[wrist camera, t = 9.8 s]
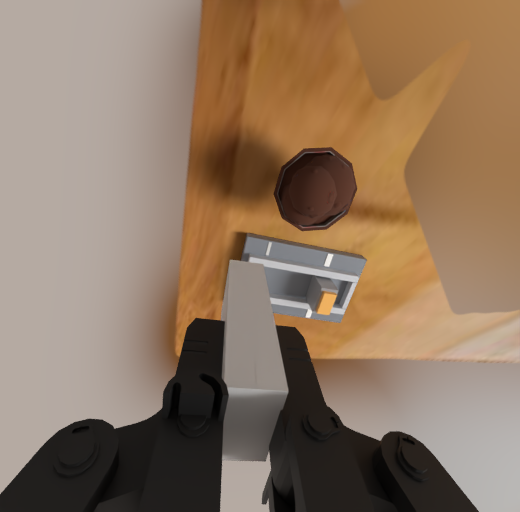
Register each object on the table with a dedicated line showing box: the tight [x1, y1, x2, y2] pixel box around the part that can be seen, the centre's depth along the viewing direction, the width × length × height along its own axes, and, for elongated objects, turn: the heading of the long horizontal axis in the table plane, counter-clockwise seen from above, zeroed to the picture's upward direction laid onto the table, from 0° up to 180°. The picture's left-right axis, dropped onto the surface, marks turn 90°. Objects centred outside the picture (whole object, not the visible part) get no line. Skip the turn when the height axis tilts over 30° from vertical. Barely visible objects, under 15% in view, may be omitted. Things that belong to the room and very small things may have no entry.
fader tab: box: [306, 275, 339, 315], centre depth 48 cm, size 5×3×6 cm, turn 166°
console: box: [240, 233, 367, 323], centre depth 50 cm, size 14×22×4 cm, turn 76°
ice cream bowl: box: [274, 147, 357, 231], centre depth 37 cm, size 11×11×15 cm
